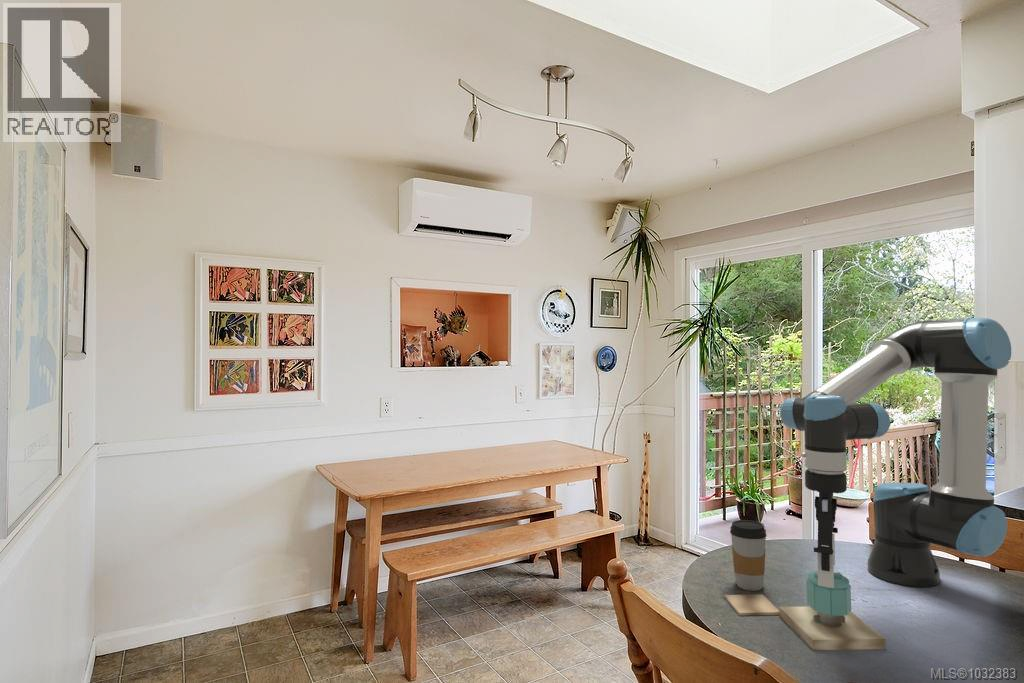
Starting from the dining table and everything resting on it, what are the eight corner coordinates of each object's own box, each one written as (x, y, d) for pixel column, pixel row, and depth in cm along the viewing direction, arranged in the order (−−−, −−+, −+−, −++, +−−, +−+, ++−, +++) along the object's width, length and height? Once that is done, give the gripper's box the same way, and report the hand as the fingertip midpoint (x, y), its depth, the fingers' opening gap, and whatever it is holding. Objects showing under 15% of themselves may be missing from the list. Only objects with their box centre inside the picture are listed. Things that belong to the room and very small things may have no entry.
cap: (836, 598, 120) (835, 566, 120) (857, 615, 113) (856, 580, 113) (801, 599, 120) (800, 567, 120) (820, 615, 113) (819, 581, 113)
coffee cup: (771, 593, 134) (770, 530, 135) (734, 591, 136) (733, 528, 136) (763, 579, 143) (762, 520, 143) (728, 577, 144) (727, 518, 145)
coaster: (762, 597, 133) (762, 594, 133) (780, 614, 124) (780, 612, 124) (724, 597, 133) (724, 595, 133) (739, 615, 124) (739, 612, 124)
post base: (844, 615, 123) (842, 569, 123) (885, 649, 109) (884, 597, 109) (779, 616, 123) (778, 569, 124) (813, 650, 109) (811, 598, 110)
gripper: (808, 459, 129) (809, 552, 129) (800, 480, 108) (802, 592, 108) (846, 462, 126) (847, 558, 125) (846, 484, 104) (848, 601, 104)
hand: (826, 574), depth 116 cm, fingers open, 13 cm apart
